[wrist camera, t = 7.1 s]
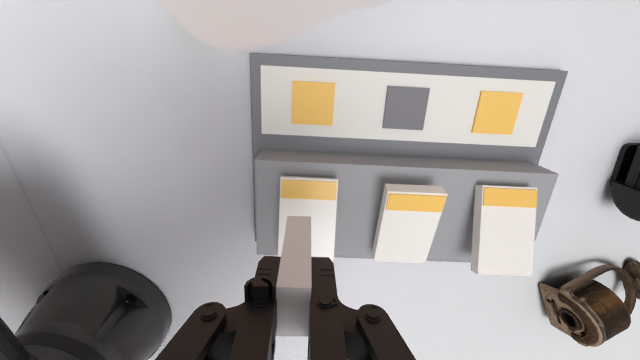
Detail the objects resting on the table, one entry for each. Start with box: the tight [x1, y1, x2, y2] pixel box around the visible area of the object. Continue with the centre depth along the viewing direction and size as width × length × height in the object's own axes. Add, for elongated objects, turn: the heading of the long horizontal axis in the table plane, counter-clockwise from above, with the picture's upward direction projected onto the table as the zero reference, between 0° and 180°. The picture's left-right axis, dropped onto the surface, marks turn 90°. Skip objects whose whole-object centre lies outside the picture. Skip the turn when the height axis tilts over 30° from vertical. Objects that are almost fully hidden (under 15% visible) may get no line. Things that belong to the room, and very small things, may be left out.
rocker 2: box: [471, 185, 538, 276], centre depth 27 cm, size 5×8×1 cm, turn 177°
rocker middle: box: [372, 184, 448, 263], centre depth 27 cm, size 5×8×1 cm, turn 177°
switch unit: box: [250, 53, 568, 262], centre depth 30 cm, size 30×20×5 cm, turn 87°
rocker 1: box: [278, 176, 338, 263], centre depth 26 cm, size 5×8×1 cm, turn 177°
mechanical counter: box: [539, 261, 640, 347], centre depth 35 cm, size 7×13×10 cm
